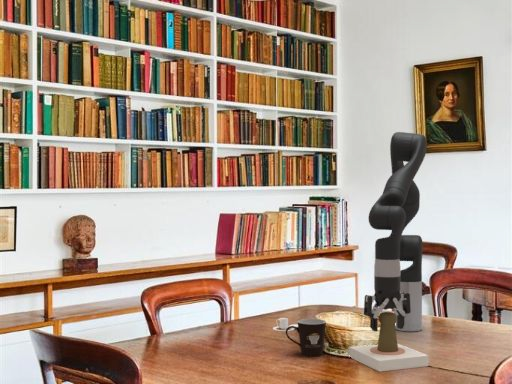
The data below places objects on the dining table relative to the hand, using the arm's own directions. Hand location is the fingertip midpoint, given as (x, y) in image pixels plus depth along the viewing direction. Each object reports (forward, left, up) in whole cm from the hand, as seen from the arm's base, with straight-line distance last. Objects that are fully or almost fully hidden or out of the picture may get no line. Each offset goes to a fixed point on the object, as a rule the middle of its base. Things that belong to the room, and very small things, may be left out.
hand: (387, 329), depth 213 cm
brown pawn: (0, 0, -6) cm, 6 cm away
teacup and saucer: (-50, -10, -10) cm, 52 cm away
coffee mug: (-17, -18, -10) cm, 27 cm away
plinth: (0, 0, -9) cm, 9 cm away
